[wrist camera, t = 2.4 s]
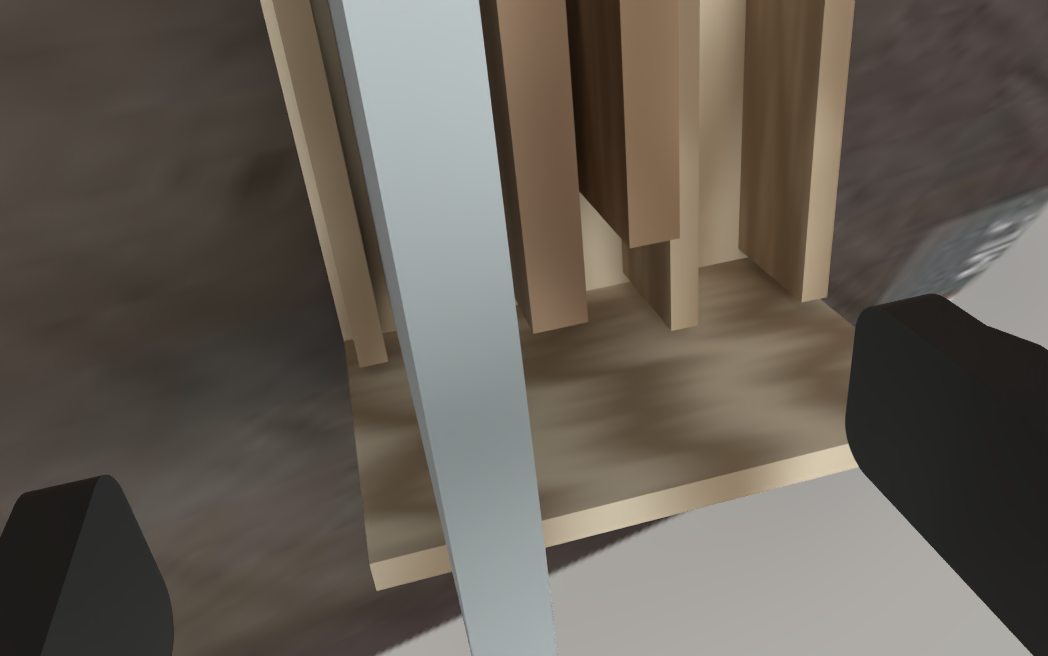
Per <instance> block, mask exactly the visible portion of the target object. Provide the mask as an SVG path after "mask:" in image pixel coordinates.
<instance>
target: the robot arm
mask: <svg viewBox="0 0 1048 656" xmlns="http://www.w3.org/2000/svg"><path fill="white" fill-rule="evenodd" d="M845 430H846V436H847V440H848V444H849V447H850V450H851V453H852V455H853V457H854V459H855V461H856V463H857V465H858V466H859V468H860V469H861V470H862V472H863V473H864V474H865V475H866V476H867V477H868V478H869V480H870V481H872V482H873V484H874V485H875V486H876V487H877V488H878V489H879V490H880V491H881V492H882V493H883V495H884V496H885V497H886V498H887V499H888V500H889V501H890V502H891V503H892V504H893V505H894V506H895V507H896V508H897V509H898V511H899V512H900V513H901V514H902V515H903V516H904V517H905V518H906V519H907V520H908V521H909V523H910V524H911V525H912V526H913V527H914V528H915V529H916V530H917V531H918V532H919V533H920V534H921V535H922V536H923V538H925V540H926V541H927V542H928V543H929V544H930V545H931V546H932V547H933V548H934V549H935V550H936V551H937V553H938V554H939V555H940V556H941V557H942V558H943V559H944V560H945V561H946V562H947V563H948V564H949V565H950V567H951V568H952V569H953V570H954V571H955V572H956V573H957V574H958V575H959V576H960V577H961V578H962V579H963V581H964V582H965V583H966V584H967V585H968V586H969V587H970V588H971V589H972V590H973V591H974V592H975V593H976V595H977V596H978V597H979V598H980V599H981V600H982V601H983V602H984V603H985V604H986V605H987V606H988V607H989V608H990V610H991V611H992V612H993V613H994V614H995V615H996V616H997V617H998V618H999V619H1000V620H1001V621H1002V622H1003V624H1004V625H1006V627H1007V628H1008V629H1009V630H1010V631H1011V632H1012V633H1013V634H1014V635H1015V636H1016V637H1017V638H1018V639H1019V641H1020V642H1021V643H1022V644H1023V645H1024V646H1025V647H1026V648H1027V649H1028V650H1029V651H1030V653H1032V655H1033V656H1048V350H1047V349H1045V348H1044V347H1042V346H1041V345H1038V344H1036V343H1033V342H1030V341H1028V340H1025V339H1022V338H1019V337H1017V336H1014V335H1011V334H1008V333H1006V332H1003V331H1000V330H998V329H995V328H992V327H989V326H986V325H985V324H983V323H982V322H980V321H979V320H977V319H976V318H974V317H973V316H971V315H970V314H968V313H967V312H965V311H964V310H962V309H961V308H959V307H958V306H956V305H955V304H953V303H952V302H950V301H949V300H948V299H946V298H944V297H942V296H940V295H937V294H926V295H921V296H917V297H912V298H908V299H903V300H899V301H894V302H890V303H885V304H881V305H876V306H872V307H868V308H866V309H865V310H863V312H862V313H861V314H860V316H859V317H858V320H857V323H856V328H855V335H854V344H853V353H852V362H851V371H850V379H849V388H848V397H847V406H846V414H845ZM173 641H174V625H173V614H172V607H171V602H170V598H169V594H168V590H167V587H166V585H165V582H164V580H163V577H162V575H161V573H160V571H159V569H158V567H157V564H156V562H155V560H154V558H153V556H152V553H151V551H150V549H149V547H148V545H147V542H146V540H145V538H144V536H143V534H142V532H141V529H140V527H139V525H138V523H137V521H136V518H135V516H134V514H133V512H132V510H131V507H130V505H129V503H128V501H127V499H126V497H125V494H124V492H123V490H122V488H121V487H120V485H119V484H118V482H117V481H116V480H115V479H114V478H113V477H111V476H110V475H102V476H98V477H93V478H89V479H84V480H80V481H75V482H71V483H66V484H62V485H57V486H53V487H48V488H44V489H39V490H35V491H30V492H26V493H24V494H22V495H21V496H20V497H19V498H18V500H17V501H16V503H15V505H14V507H13V510H12V512H11V514H10V517H9V519H8V521H7V523H6V526H5V528H4V530H3V533H2V535H1V537H0V656H172V650H173Z"/></svg>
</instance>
